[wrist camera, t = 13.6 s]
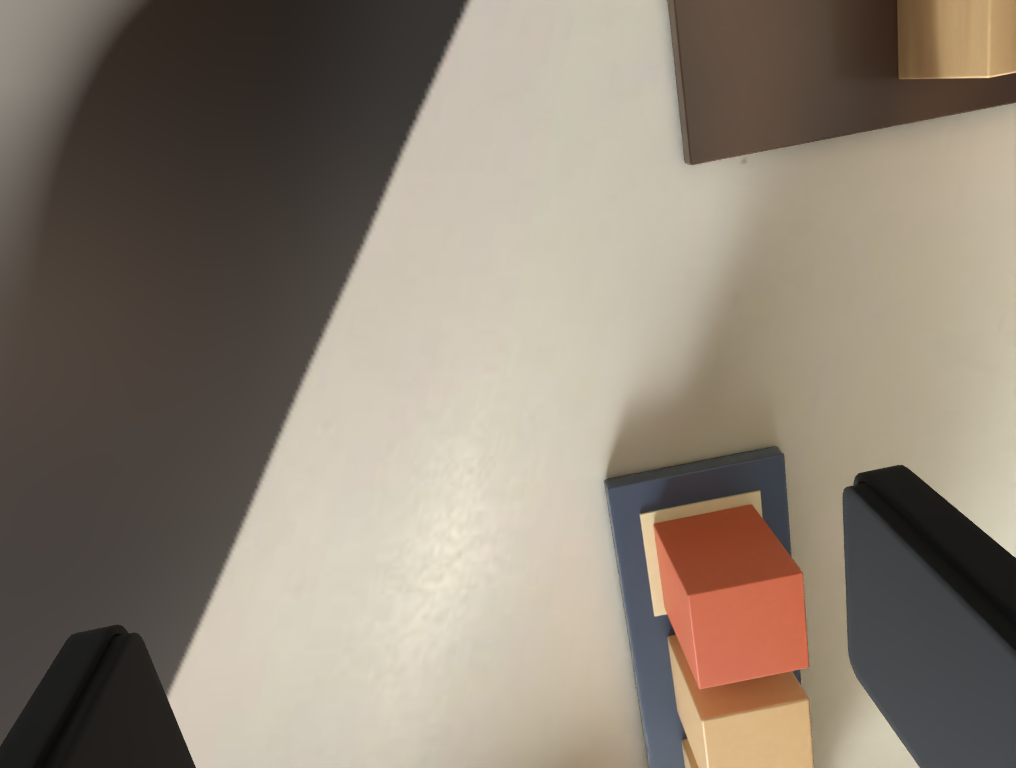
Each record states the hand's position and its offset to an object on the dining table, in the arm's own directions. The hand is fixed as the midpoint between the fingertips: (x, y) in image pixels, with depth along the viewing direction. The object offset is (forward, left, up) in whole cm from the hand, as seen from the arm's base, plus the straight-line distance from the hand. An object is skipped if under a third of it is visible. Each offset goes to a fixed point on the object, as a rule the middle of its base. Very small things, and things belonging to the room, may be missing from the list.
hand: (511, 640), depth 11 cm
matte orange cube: (+7, -12, -20) cm, 24 cm away
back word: (+7, -21, -21) cm, 30 cm away
